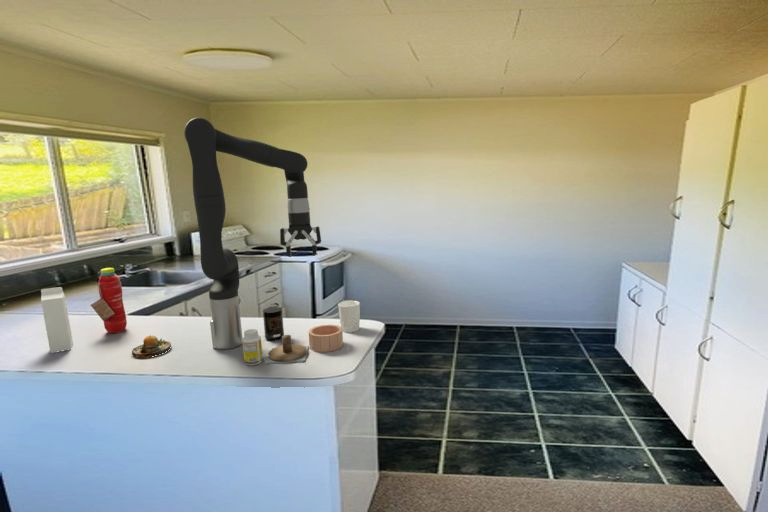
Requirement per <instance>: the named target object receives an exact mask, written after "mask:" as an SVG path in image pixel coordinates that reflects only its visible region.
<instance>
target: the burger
mask: <svg viewBox="0 0 768 512" xmlns="http://www.w3.org/2000/svg"><path fill="white" fill-rule="evenodd" d="M170 347H171V348H172V343H171V342H170V341H167V340H164V339H163V338H160V339H158V337H157V336H155V335H148V336H146V337H144V339H143V344H140V345H138V346H136V347H134V348H133V349H132V350H131V355H133V356H132V357H133V358H134V357H135V359H137V358H142V359H143V358H144V359H147V357H148V358H151V357H152V356H155V355H159V354H162V353H165V352H166V351H168V350H169V349H170ZM165 354H166V353H165ZM152 358H153V357H152Z"/></svg>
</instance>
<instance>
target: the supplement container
mask: <svg viewBox="0 0 768 512" xmlns="http://www.w3.org/2000/svg"><path fill="white" fill-rule="evenodd" d="M262 316H263V317H262V320H263V328H264V337H265V340H267V341H270V342H271V341H272V342H273V341H279V340H282V336H284V335H285V330H284V317H283V308H282V307H279V306H272V307H271V306H270V307H268V308H267V307H266V308H264V309H262Z"/></svg>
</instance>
